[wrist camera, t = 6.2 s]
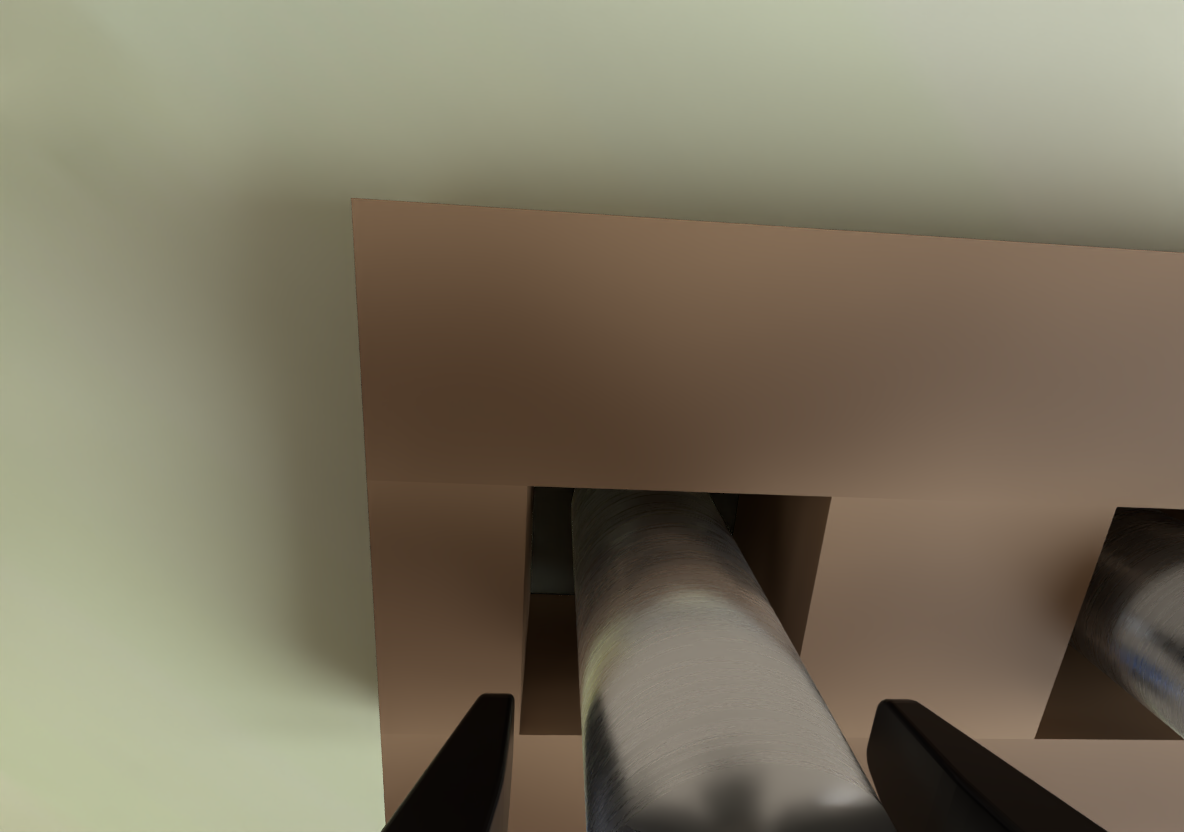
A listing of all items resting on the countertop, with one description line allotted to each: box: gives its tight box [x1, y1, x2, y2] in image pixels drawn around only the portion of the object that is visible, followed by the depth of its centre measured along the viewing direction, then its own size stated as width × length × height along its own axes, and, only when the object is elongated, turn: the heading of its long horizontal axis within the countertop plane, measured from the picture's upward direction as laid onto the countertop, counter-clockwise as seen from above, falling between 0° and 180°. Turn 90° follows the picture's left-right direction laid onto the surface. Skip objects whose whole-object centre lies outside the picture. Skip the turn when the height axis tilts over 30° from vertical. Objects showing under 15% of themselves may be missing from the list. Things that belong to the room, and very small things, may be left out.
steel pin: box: [571, 488, 897, 832], centre depth 10 cm, size 3×3×8 cm
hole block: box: [351, 198, 1184, 832], centre depth 12 cm, size 12×18×4 cm, turn 86°
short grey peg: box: [1068, 507, 1184, 739], centre depth 11 cm, size 3×3×6 cm
